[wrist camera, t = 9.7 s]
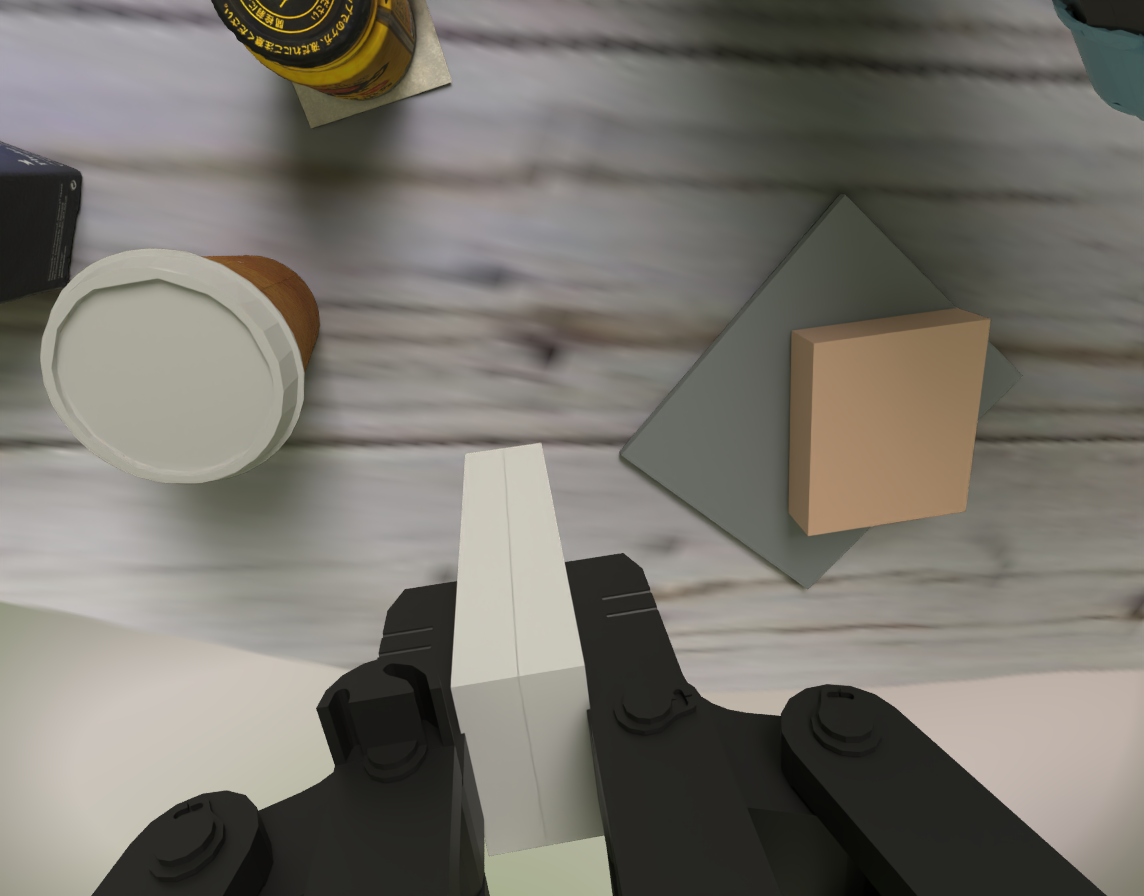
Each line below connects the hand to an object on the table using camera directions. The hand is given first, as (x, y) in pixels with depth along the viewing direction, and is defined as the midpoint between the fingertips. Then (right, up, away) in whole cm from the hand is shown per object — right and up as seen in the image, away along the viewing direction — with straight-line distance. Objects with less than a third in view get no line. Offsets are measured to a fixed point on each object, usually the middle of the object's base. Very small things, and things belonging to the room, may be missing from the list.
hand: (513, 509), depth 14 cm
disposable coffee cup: (-16, +8, +24) cm, 29 cm away
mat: (+17, +3, +29) cm, 34 cm away
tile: (+15, +2, +27) cm, 31 cm away
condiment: (-9, +22, +19) cm, 30 cm away
